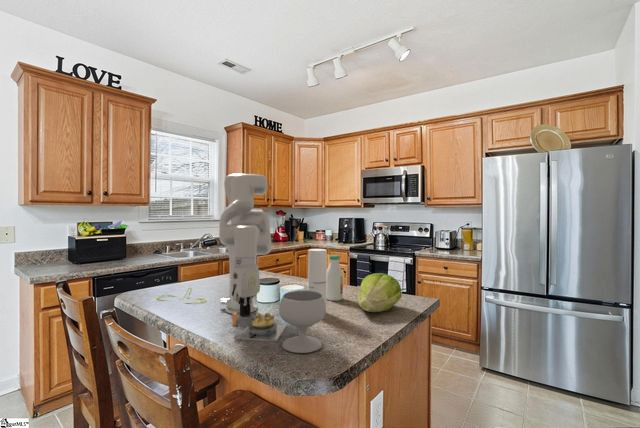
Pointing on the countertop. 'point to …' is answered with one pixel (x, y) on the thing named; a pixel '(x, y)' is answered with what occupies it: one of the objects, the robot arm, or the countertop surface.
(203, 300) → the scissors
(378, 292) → the lettuce
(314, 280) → the cylindrical container
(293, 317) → the chalice
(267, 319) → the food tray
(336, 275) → the milk bottle
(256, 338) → the cap plate
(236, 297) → the robot arm
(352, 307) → the countertop surface
